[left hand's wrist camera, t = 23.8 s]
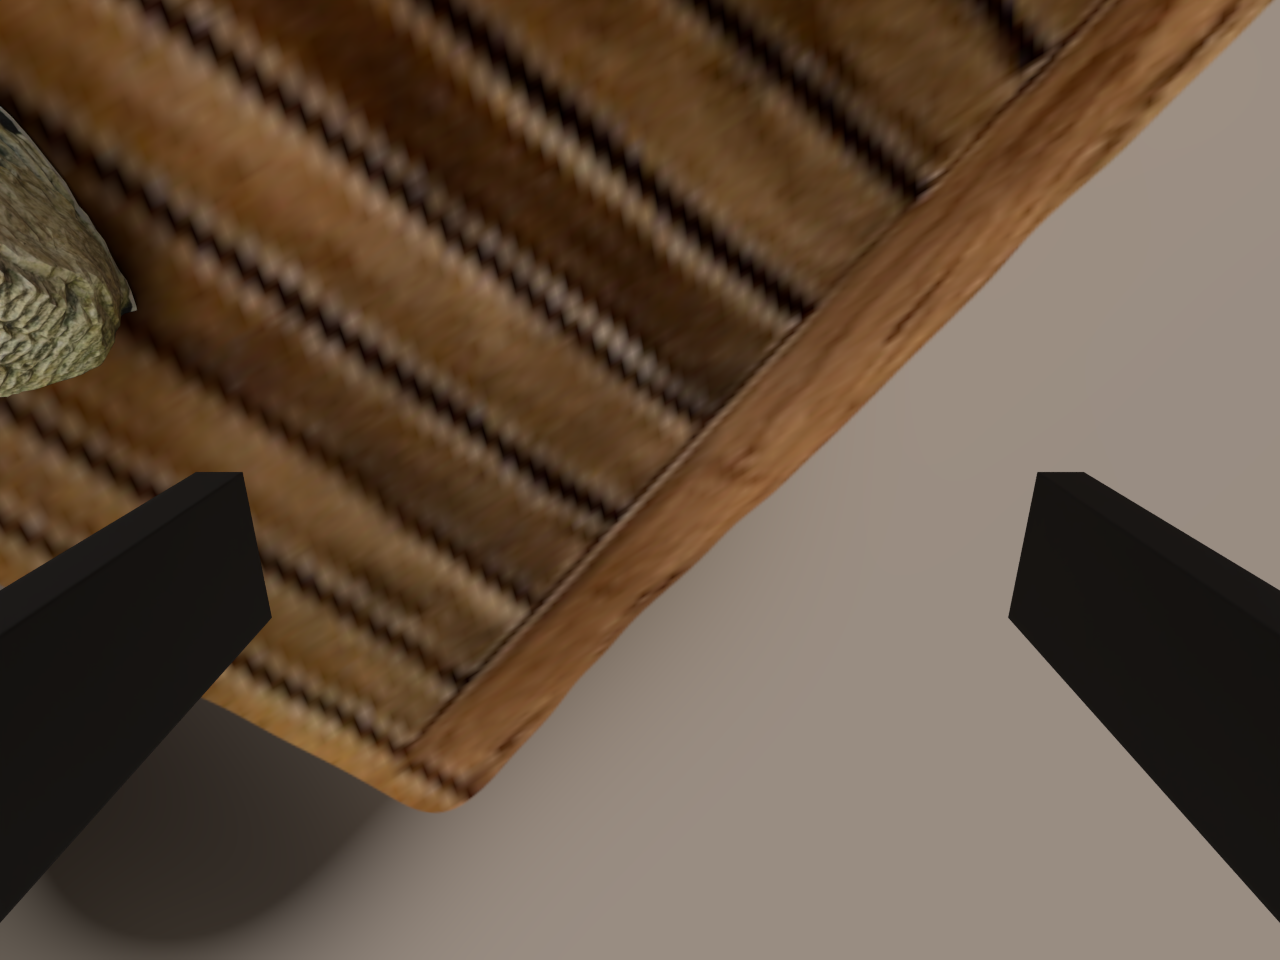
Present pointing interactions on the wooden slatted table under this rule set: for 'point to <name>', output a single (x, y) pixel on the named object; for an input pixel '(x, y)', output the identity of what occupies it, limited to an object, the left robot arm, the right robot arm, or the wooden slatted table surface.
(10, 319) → the fossil
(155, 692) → the left robot arm
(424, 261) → the wooden slatted table surface
